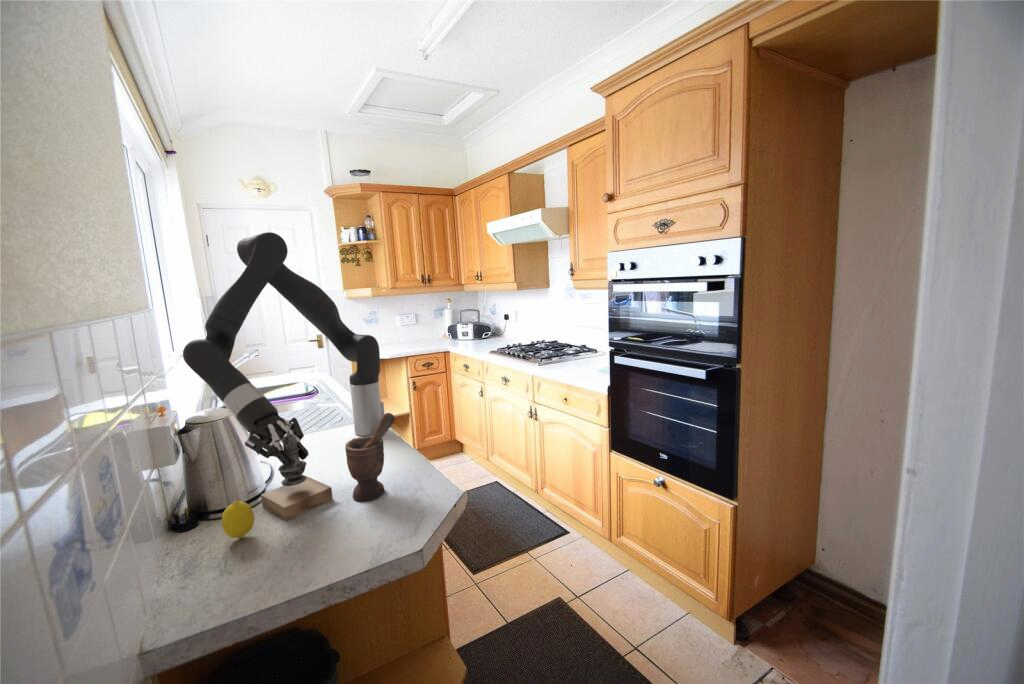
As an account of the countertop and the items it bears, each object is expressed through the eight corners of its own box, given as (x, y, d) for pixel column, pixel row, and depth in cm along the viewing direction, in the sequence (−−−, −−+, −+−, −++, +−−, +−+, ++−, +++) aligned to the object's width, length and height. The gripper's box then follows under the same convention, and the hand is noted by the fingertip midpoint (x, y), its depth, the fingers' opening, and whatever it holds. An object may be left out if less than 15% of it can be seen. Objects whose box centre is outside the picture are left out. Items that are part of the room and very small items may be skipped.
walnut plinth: (308, 487, 111) (306, 476, 110) (332, 499, 104) (331, 487, 104) (262, 506, 102) (260, 494, 102) (286, 520, 96) (284, 507, 95)
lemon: (262, 532, 91) (257, 496, 90) (238, 548, 86) (232, 510, 85) (243, 528, 93) (237, 493, 92) (218, 544, 88) (212, 506, 87)
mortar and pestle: (399, 480, 112) (392, 405, 109) (402, 496, 104) (395, 414, 101) (350, 490, 108) (342, 411, 105) (350, 506, 100) (341, 422, 97)
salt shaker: (313, 474, 105) (307, 426, 103) (298, 486, 99) (292, 435, 97) (289, 474, 106) (283, 426, 104) (274, 486, 100) (267, 435, 98)
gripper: (231, 405, 95) (283, 463, 93) (282, 388, 108) (328, 439, 107) (215, 427, 97) (266, 485, 95) (267, 408, 111) (312, 458, 109)
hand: (299, 460), depth 101 cm, fingers closed on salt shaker, 3 cm apart
